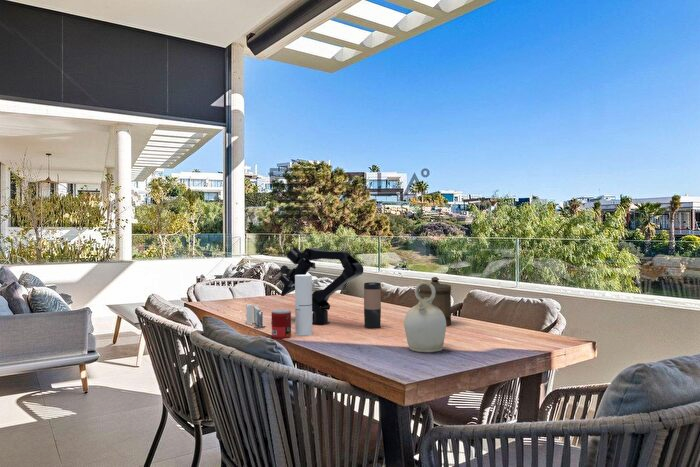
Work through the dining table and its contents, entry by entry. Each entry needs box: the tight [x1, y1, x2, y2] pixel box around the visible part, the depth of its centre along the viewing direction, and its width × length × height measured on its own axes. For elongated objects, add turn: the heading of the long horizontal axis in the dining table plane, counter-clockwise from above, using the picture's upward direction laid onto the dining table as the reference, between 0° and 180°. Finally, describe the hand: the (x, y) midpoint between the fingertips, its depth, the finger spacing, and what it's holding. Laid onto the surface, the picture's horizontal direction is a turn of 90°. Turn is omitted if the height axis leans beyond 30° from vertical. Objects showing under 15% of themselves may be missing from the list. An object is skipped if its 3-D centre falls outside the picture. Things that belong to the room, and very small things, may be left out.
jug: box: [403, 280, 447, 354], centre depth 188 cm, size 15×16×25 cm
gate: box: [253, 305, 262, 325], centre depth 239 cm, size 12×2×7 cm, turn 20°
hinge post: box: [253, 311, 267, 329], centre depth 231 cm, size 4×4×7 cm
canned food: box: [271, 308, 292, 340], centre depth 211 cm, size 8×8×11 cm
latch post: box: [245, 303, 254, 325], centre depth 243 cm, size 6×3×9 cm, turn 25°
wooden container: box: [419, 276, 452, 327], centre depth 238 cm, size 15×15×22 cm
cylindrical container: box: [294, 274, 313, 337], centre depth 216 cm, size 7×7×25 cm
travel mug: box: [363, 281, 382, 330], centre depth 230 cm, size 8×8×20 cm
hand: (281, 295), depth 246 cm, fingers closed
